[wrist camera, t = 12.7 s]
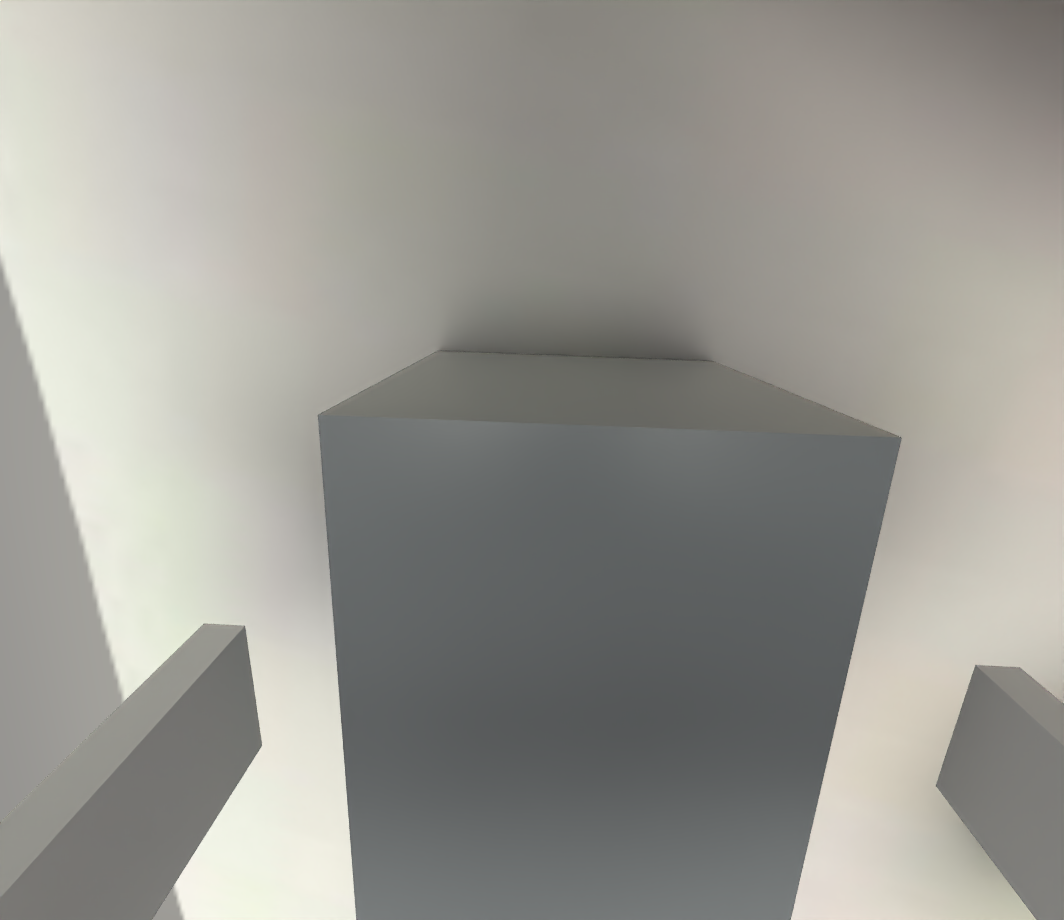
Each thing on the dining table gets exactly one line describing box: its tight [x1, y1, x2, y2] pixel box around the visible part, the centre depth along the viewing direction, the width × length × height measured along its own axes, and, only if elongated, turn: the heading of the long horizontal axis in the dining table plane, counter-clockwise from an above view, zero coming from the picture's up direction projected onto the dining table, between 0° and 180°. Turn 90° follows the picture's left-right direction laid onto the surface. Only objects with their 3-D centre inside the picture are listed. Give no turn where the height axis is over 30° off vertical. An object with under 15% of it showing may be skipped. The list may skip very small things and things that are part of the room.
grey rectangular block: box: [318, 351, 901, 920], centre depth 14 cm, size 12×8×9 cm, turn 178°
